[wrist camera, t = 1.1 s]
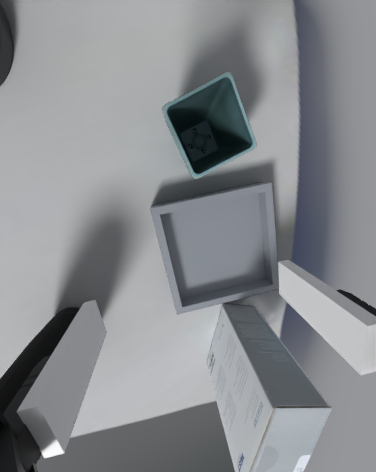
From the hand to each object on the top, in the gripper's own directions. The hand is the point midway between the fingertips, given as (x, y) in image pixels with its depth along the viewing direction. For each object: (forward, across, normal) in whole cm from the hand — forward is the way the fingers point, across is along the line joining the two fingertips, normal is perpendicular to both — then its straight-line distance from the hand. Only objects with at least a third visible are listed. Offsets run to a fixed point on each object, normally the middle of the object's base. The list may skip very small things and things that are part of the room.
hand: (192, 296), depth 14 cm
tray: (+22, +7, -5) cm, 23 cm away
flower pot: (+22, +6, +13) cm, 26 cm away
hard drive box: (+22, +8, -26) cm, 35 cm away
